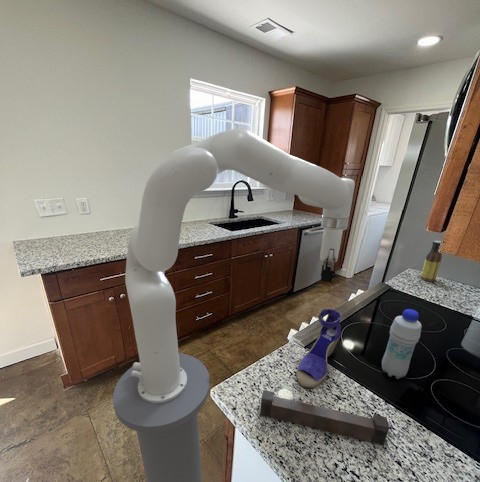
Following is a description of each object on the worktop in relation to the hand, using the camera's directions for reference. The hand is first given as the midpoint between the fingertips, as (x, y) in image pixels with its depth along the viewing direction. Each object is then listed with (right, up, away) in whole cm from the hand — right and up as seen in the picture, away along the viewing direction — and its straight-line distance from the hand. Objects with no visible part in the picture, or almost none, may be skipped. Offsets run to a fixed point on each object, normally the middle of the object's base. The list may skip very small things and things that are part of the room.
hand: (326, 278), depth 85 cm
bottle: (+15, -26, -11) cm, 32 cm away
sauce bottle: (+66, -2, +48) cm, 82 cm away
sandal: (-5, -25, -9) cm, 27 cm away
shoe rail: (-10, -32, -26) cm, 43 cm away
